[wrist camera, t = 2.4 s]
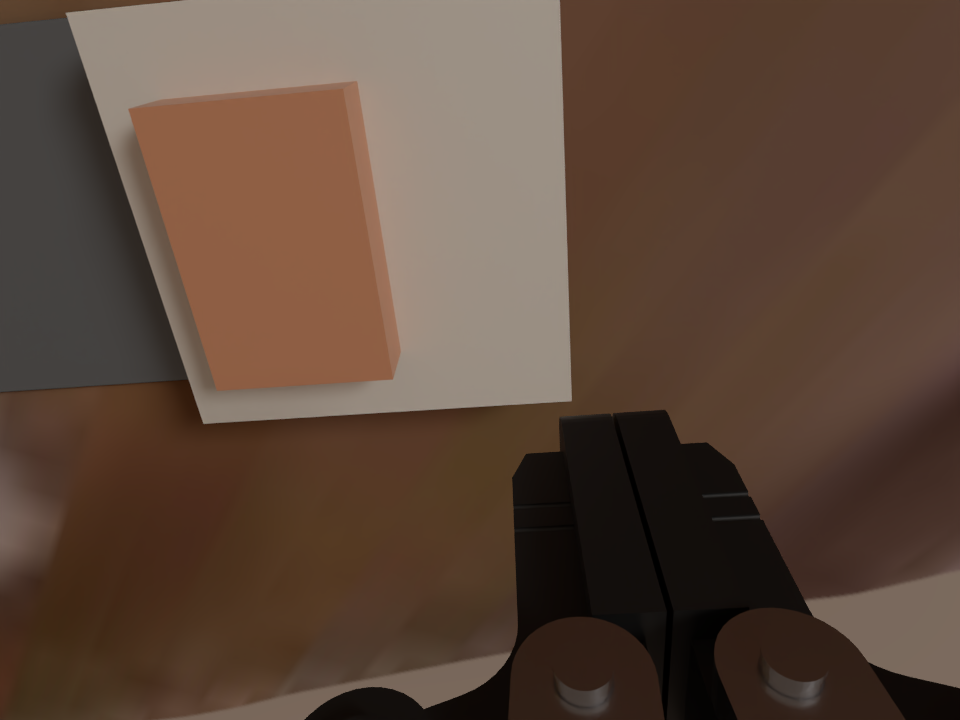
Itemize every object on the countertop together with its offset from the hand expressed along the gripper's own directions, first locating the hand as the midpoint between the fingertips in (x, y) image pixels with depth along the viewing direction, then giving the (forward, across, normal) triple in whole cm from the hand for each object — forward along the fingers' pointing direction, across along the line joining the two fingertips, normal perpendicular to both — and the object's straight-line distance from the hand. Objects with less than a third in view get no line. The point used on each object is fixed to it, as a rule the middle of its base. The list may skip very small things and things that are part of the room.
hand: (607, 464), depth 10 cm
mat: (+17, +21, 0) cm, 27 cm away
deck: (+17, +6, 0) cm, 18 cm away
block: (+13, +8, 0) cm, 16 cm away
